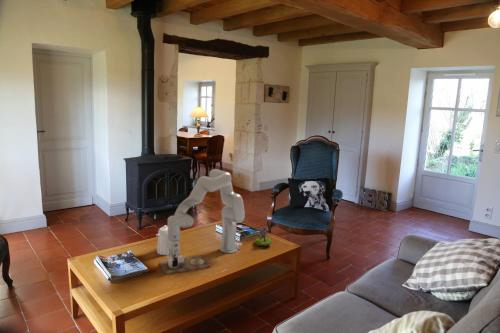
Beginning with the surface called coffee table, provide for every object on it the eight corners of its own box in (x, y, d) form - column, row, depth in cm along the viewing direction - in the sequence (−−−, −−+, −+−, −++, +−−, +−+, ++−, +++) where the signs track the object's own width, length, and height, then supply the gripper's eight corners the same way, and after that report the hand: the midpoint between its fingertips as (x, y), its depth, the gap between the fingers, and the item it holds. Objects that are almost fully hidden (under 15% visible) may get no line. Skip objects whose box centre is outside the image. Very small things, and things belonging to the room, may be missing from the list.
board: (202, 256, 237) (202, 255, 237) (210, 267, 223) (210, 265, 223) (159, 263, 225) (159, 261, 225) (165, 274, 211) (165, 272, 211)
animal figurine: (250, 243, 263) (251, 224, 260) (262, 240, 271) (263, 221, 269) (263, 250, 253) (264, 229, 250) (276, 246, 261) (277, 226, 259)
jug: (168, 270, 216) (168, 258, 215) (165, 265, 222) (165, 254, 221) (185, 267, 221) (185, 256, 219) (182, 263, 227) (182, 251, 225)
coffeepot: (148, 259, 230) (148, 231, 227) (165, 244, 254) (165, 219, 251) (164, 261, 228) (164, 233, 225) (179, 246, 252) (180, 220, 249)
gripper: (183, 240, 211) (183, 268, 215) (176, 230, 227) (175, 257, 230) (171, 242, 208) (170, 270, 211) (164, 232, 223) (164, 259, 227)
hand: (173, 263), depth 221 cm, fingers closed on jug, 6 cm apart
